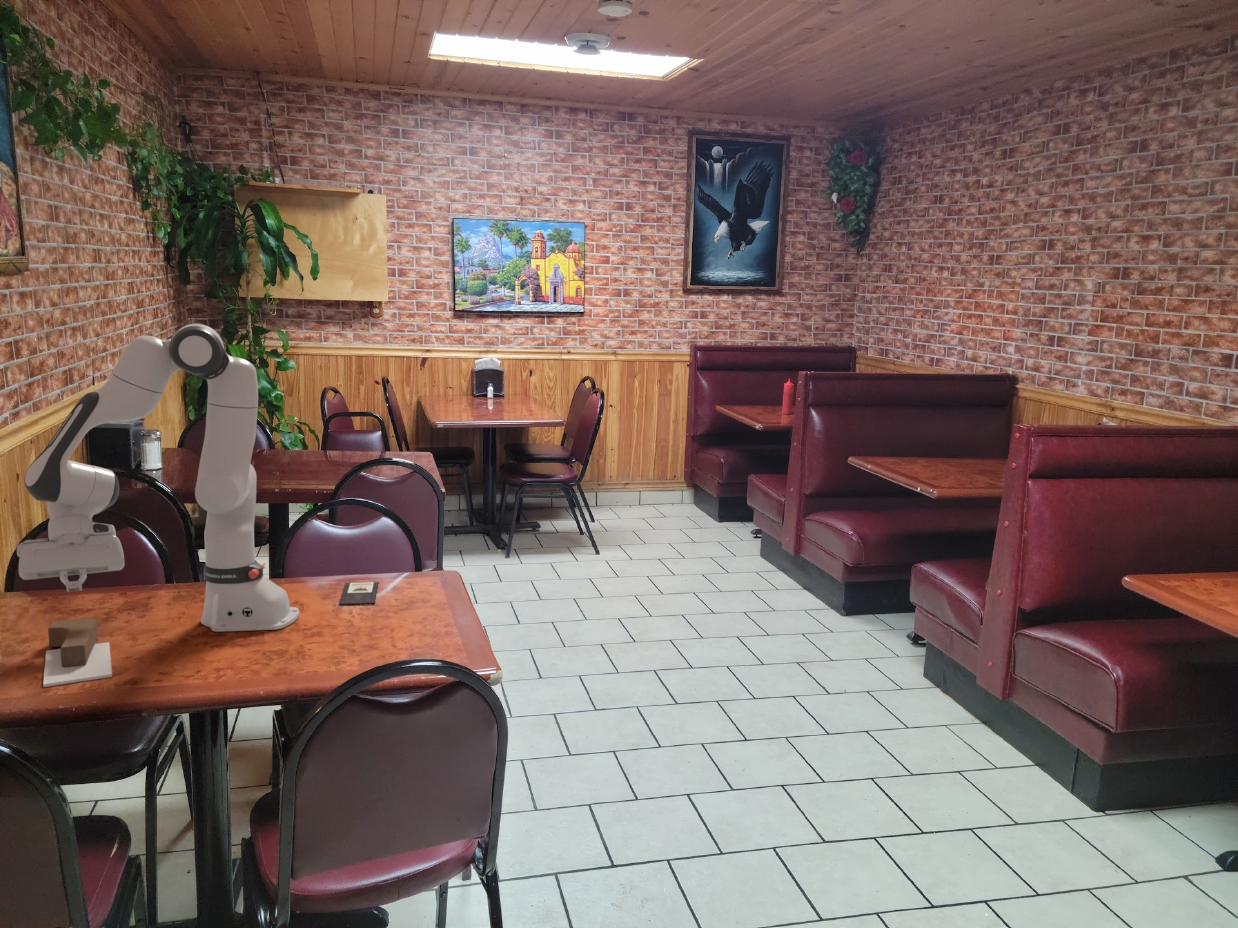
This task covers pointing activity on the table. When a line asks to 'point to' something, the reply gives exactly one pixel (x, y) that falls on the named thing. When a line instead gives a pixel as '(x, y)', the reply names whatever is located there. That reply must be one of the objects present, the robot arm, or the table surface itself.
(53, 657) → the white board
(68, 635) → the wooden block
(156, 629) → the table surface
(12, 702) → the table surface
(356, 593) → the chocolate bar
